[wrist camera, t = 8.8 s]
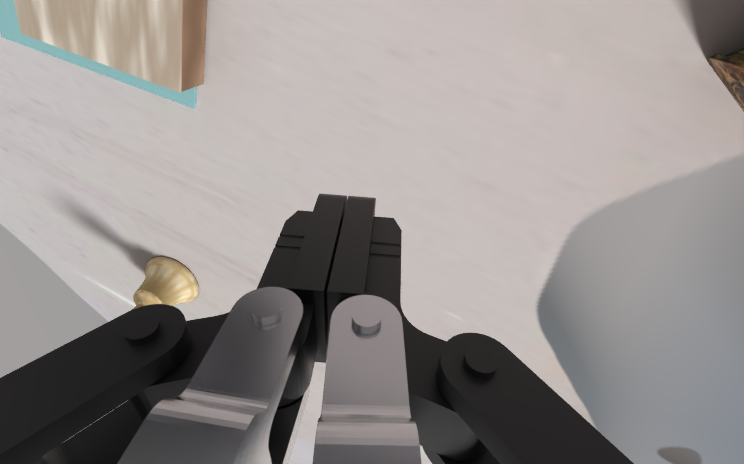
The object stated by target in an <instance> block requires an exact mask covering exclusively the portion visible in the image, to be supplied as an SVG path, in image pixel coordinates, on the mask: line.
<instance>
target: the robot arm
mask: <svg viewBox="0 0 744 464" xmlns="http://www.w3.org/2000/svg"><path fill="white" fill-rule="evenodd" d="M375 201H376V198H368V197H356V196H349V197H348V200H347V196H342V195H330V194H319V196H318V198H317V201H316V204H315V207H314V210H313V212H310V211H297V212H296V213H295V214H294V215H292V216H291V217H290V218H289V219H288V220H287V221H286V222H285V224H284V226H283V229H282V231H281V233H280V237H279V238H278V240H277V243H276V245H275V248H274V250H273V252H272V254H271V257H270V259H269V261H268V264H267V266H266V269H265V271H264V273H263V276H262V278H261V280H260V283H259V285H258V287H257V289H256V290H253V291H251V292H249V293H247V294H245V295H244V296H243V297H241V298H240V299H239V300H238V301H237V302H236V303H235V305H234V306H233V308H232V310H231V311H230V312H229V313H226V314H223V315H218V316H214V317H208V318H202V319H196V320H190V321H186V320H185V317H184V315H183V314H182V312H181V311H180V310H179V309H177V308H175V307H173V306H170V305H166V304H151V305H146V306H142V307H139V308H136V309H133V310H131V311H129V312H127V313H125V314H123V315H121V316H119V317H117V318H115V319H113V320H111V321H110V322H108V323H106V324H104V325H102V326H100V327H98V328H96V329H94V330H92V331H90V332H88V333H86V334H85V335H83V336H81V337H79V338H77V339H75V340H73V341H71V342H69V343H67V344H65V345H63V346H61V347H59V348H57V349H55V350H54V351H52V352H50V353H48V354H46V355H44V356H42V357H40V358H38V359H36V360H34V361H32V362H30V363H28V364H27V365H25V366H23V367H21V368H19V369H17V370H15V371H13V372H11V373H9V374H7V375H5V376H3V377H2V378H0V464H288V463H289V460H290V456H291V453H292V449H293V446H294V443H295V439H296V436H297V433H298V429H299V426H300V422H301V419H302V416H303V412H304V409H305V406H306V402H307V399H308V395H309V384H310V381H311V377H312V372H313V367H314V363H315V362H324V363H326V372H325V382H324V391H323V401H322V410H321V416H320V418H319V420H318V424H317V430H316V438H315V446H314V456H313V464H421V455H420V445H421V446H423V449H424V451H425V453H426V455H427V457H428V458H429V459H430V461H431V462H432V464H634V463H632V462H631V461H630V460H629V459H628V458H627V457H626V456H625V455H624V454H623V453H621V452H620V451H619V450H618V449H617V448H616V447H615V446H614V445H613V444H612V443H610V442H609V441H608V440H607V439H606V438H605V437H604V436H602V434H601V433H600V432H598V431H597V430H596V429H595V428H594V427H593V426H592V425H591V424H590V423H589V422H587V421H586V420H585V419H584V418H583V417H582V416H581V415H580V414H579V413H578V412H577V411H575V410H574V409H573V408H572V407H571V406H570V405H569V404H568V403H567V402H566V401H564V400H563V399H562V398H561V397H560V396H559V395H558V394H557V393H556V392H555V391H553V390H552V389H551V388H550V387H549V386H548V385H547V384H546V383H545V382H544V381H542V380H541V379H540V378H539V377H538V376H537V375H536V374H535V373H534V372H533V371H532V370H530V369H529V368H528V367H527V366H526V365H525V364H524V363H523V362H522V361H521V360H519V359H518V358H517V357H516V356H515V355H514V354H513V353H512V352H511V351H510V350H508V349H507V348H506V347H505V346H504V345H503V344H501V343H500V342H498V341H497V340H495V339H493V338H491V337H489V336H486V335H483V334H478V333H463V334H459V335H456V336H454V337H452V338H451V339H449V340H448V341H447V342H446V341H444V340H441V339H438V338H436V337H433V336H430V335H428V334H426V333H423V332H422V331H420V330H418V329H417V328H415V327H414V326H413V325H412V324H411V323H410V322H409V321H408V320H407V319H406V317H405V316H404V314H403V312H402V309H401V304H400V286H401V229H400V228H399V226H398V224H397V223H396V221H395V220H394V218H385V217H375ZM326 360H327V362H326ZM127 400H128V401H127ZM126 401H127V402H126ZM124 402H125V403H124ZM122 403H124V404H122ZM121 404H122V405H121ZM119 405H121V406H119ZM118 406H119V407H118ZM116 407H117V408H116ZM115 408H116V409H115ZM113 409H114V410H113ZM112 410H113V411H112ZM110 411H112V412H110ZM109 412H110V413H109ZM107 413H108V414H107ZM106 414H107V415H106ZM104 415H105V416H104ZM103 416H104V417H103ZM101 417H102V418H101ZM99 418H101V419H99ZM98 419H99V420H98ZM96 420H98V421H96ZM95 421H96V422H95ZM93 422H94V423H93ZM92 423H93V424H92ZM90 424H91V425H90ZM89 425H90V426H89ZM87 426H88V427H87ZM85 427H87V428H85ZM84 428H85V429H84ZM83 429H84V430H83ZM81 430H82V431H81ZM79 431H81V432H79ZM78 432H79V433H78ZM76 433H77V434H76ZM75 434H76V435H75ZM73 435H74V436H73ZM72 436H73V437H72ZM70 437H71V438H70ZM69 438H70V439H69ZM67 439H69V440H67ZM66 440H67V441H66ZM64 441H65V442H64Z"/></svg>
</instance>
